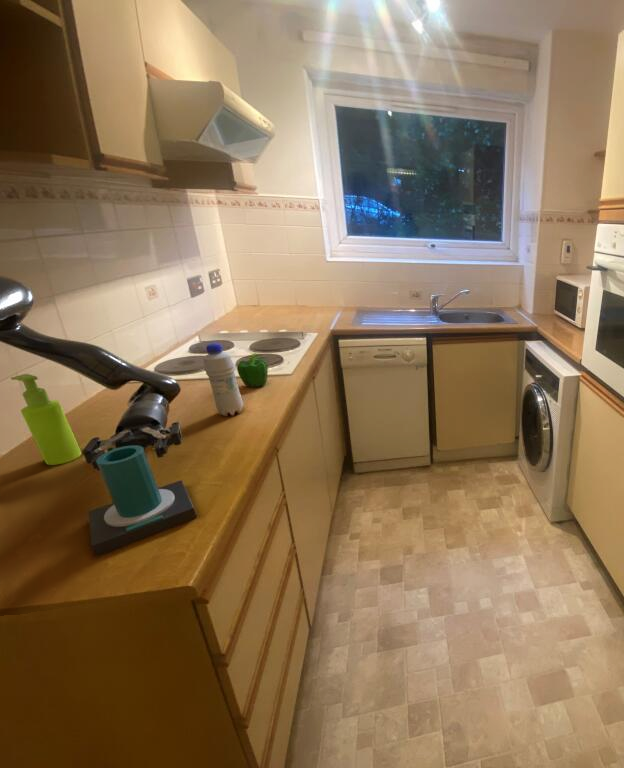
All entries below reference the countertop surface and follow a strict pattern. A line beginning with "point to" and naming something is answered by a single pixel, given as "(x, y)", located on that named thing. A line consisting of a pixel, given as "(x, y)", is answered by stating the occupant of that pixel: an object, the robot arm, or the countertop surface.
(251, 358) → the bell pepper
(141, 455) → the jar
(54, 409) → the soap dispenser
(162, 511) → the scale
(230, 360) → the bottle
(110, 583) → the countertop surface
